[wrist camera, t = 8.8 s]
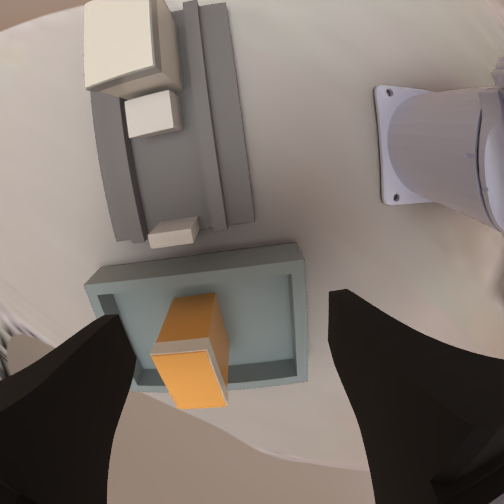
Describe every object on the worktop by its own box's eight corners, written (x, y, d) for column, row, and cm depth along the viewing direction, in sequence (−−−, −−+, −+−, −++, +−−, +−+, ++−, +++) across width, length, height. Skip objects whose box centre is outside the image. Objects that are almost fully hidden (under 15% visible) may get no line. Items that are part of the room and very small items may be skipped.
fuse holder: (226, 8, 13) (223, -17, 10) (254, 217, 18) (256, 234, 15) (95, 43, 13) (69, 29, 10) (122, 236, 18) (100, 256, 15)
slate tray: (296, 242, 19) (304, 259, 16) (302, 357, 22) (307, 381, 20) (100, 267, 19) (83, 284, 16) (140, 369, 23) (132, 391, 20)
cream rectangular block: (177, 24, 12) (149, -21, 7) (185, 90, 14) (154, 66, 9) (129, 38, 13) (84, 3, 7) (134, 103, 14) (84, 89, 9)
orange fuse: (216, 291, 19) (206, 350, 13) (230, 344, 21) (227, 406, 15) (172, 297, 19) (149, 355, 14) (190, 348, 21) (178, 409, 15)
